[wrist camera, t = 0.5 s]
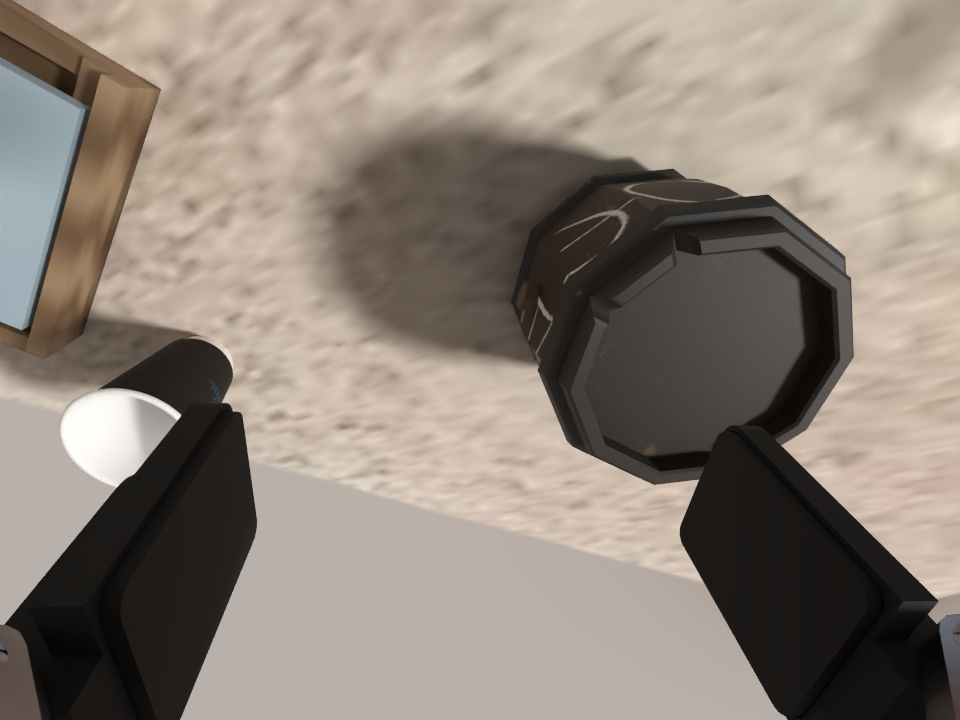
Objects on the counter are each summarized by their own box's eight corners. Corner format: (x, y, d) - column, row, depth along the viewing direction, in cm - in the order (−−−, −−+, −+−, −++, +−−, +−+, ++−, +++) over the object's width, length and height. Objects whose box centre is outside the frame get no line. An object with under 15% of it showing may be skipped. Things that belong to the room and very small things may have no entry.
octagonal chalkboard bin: (538, 132, 34) (610, 152, 20) (759, 191, 37) (950, 243, 24) (479, 356, 42) (501, 480, 28) (665, 388, 45) (768, 514, 31)
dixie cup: (128, 338, 39) (26, 416, 29) (217, 303, 38) (143, 372, 28) (189, 414, 42) (117, 507, 33) (272, 384, 42) (223, 470, 32)
